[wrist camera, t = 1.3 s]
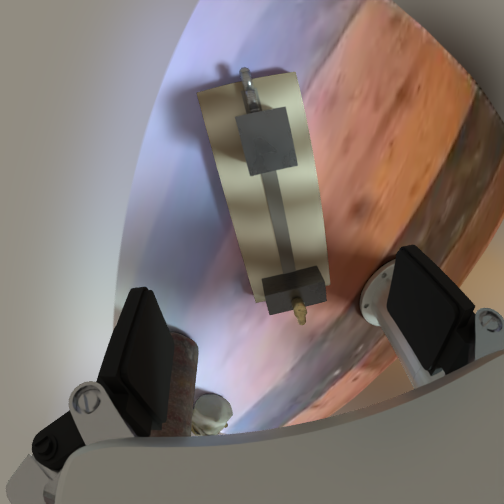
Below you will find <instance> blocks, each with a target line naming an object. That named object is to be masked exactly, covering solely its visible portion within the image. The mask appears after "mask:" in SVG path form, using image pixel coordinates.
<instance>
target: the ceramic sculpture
mask: <svg viewBox="0 0 504 504" xmlns="http://www.w3.org/2000/svg"><path fill="white" fill-rule="evenodd" d="M194 407H195V408H194V409H193V415H192V428H191V431H192V432H193V433H194V434H195V435H196V436H211V435H218V434H219V433H220V431H221V430H222V429H223V428H224V427H225V428H226V427H227V426H228V424H227V421H228V420H229V419H230V418H231V416H232V415H233V412H232V408H231V405H230V403H229V402H228V401H227V400H226V399H224V398H222V397H220V396H218V395H215V394H210V395H208V394H206V395H202V396H201V397H200V398H199V399H198V400H197V401H196V404H195V406H194Z"/></svg>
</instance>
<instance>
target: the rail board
mask: <svg viewBox="0 0 504 504" xmlns="http://www.w3.org/2000/svg"><path fill="white" fill-rule="evenodd" d="M252 81H253V85H254V89H255V93H256V97H257V101H258V105H259V111H263V110H268V109H273V108H279V107H286V110H287V115H288V119H289V124H290V128H291V133H292V138H293V143H294V147H295V152H296V157H297V163H298V166H294V167H290V168H285V169H280V170H276V171H271V172H267V173H262V174H258V175H254V176H250V174H249V171H248V167H247V164H246V160H245V156H244V152H243V148H242V144H241V140H240V136H239V132H238V128H237V124H236V120H235V117H236V116H240V115H245V114H249V113H250V111H249V108H248V104H247V100H246V96H245V92H244V88H243V84H242V81H240V82H236V83H231V84H227V85H223V86H219V87H215V88H212V89H208V90H204V91H201V92H197V97H198V100H199V104H200V108H201V111H202V115H203V119H204V122H205V126H206V130H207V133H208V137H209V141H210V144H211V148H212V151H213V155H214V159H215V162H216V166H217V169H218V173H219V176H220V180H221V184H222V187H223V191H224V194H225V198H226V201H227V205H228V208H229V212H230V215H231V219H232V222H233V226H234V229H235V233H236V236H237V240H238V243H239V247H240V250H241V254H242V257H243V260H244V264H245V267H246V271H247V274H248V278H249V281H250V284H251V288H252V291H253V295H254V298H255V301H256V303H258V302H262V301H266V300H265V296H264V290H263V284H262V279H263V278H267V277H271V276H275V275H280V274H286V273H290V272H294V271H296V270H300V269H304V268H308V267H312V266H316V265H317V267H318V269H319V271H320V273H321V275H322V277H323V279H324V281H325V286H327V285H330V275H329V265H328V255H327V246H326V237H325V229H324V221H323V213H322V206H321V199H320V192H319V186H318V179H317V173H316V167H315V162H314V156H313V150H312V145H311V140H310V135H309V130H308V125H307V120H306V115H305V110H304V106H303V101H302V97H301V93H300V88H299V84H298V80H297V76H296V72H290V73H283V74H277V75H271V76H265V77H260V78H254V79H252Z"/></svg>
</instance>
